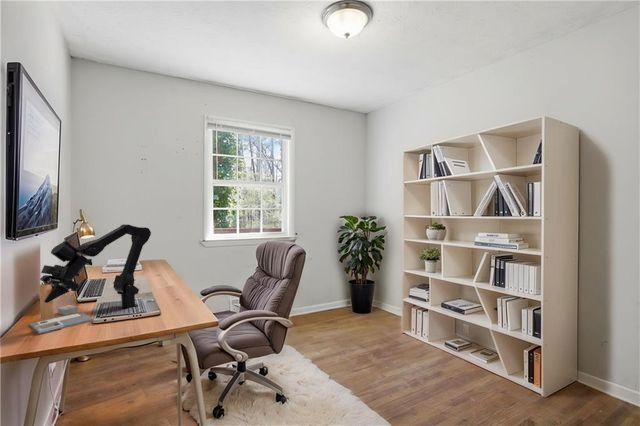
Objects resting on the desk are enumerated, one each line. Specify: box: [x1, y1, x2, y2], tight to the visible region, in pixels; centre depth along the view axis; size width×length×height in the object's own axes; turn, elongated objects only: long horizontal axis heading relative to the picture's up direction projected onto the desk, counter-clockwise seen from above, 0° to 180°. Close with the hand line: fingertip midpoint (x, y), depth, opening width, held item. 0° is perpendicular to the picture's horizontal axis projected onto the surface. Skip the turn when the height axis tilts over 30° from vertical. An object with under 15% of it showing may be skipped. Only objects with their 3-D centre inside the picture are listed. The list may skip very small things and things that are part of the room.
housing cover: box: [57, 304, 79, 316], centre depth 155 cm, size 7×5×2 cm
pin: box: [38, 283, 55, 320], centre depth 133 cm, size 4×4×13 cm
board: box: [30, 311, 94, 335], centre depth 140 cm, size 16×18×2 cm
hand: (42, 301), depth 132 cm, fingers closed on pin, 4 cm apart
